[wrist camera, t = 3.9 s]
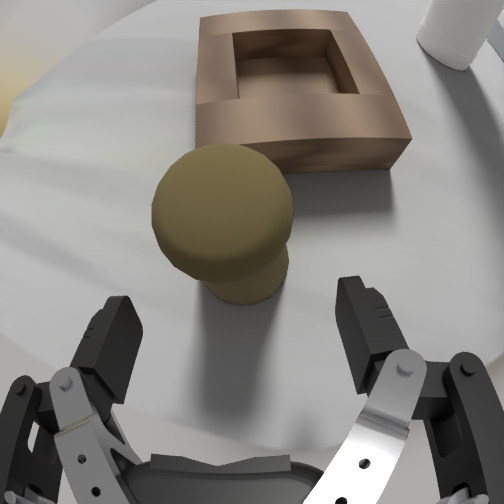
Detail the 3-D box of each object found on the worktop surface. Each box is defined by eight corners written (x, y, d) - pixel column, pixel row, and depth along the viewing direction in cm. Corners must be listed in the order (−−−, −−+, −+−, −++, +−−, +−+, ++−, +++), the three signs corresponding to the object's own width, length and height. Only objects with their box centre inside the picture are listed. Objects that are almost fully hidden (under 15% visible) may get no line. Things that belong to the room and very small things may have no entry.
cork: (306, 272, 19) (350, 218, 9) (229, 323, 19) (180, 330, 8) (256, 201, 21) (243, 93, 10) (183, 248, 20) (103, 179, 9)
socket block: (209, 182, 21) (195, 150, 17) (207, 50, 25) (200, 17, 20) (390, 168, 21) (412, 138, 16) (340, 43, 24) (347, 12, 20)
